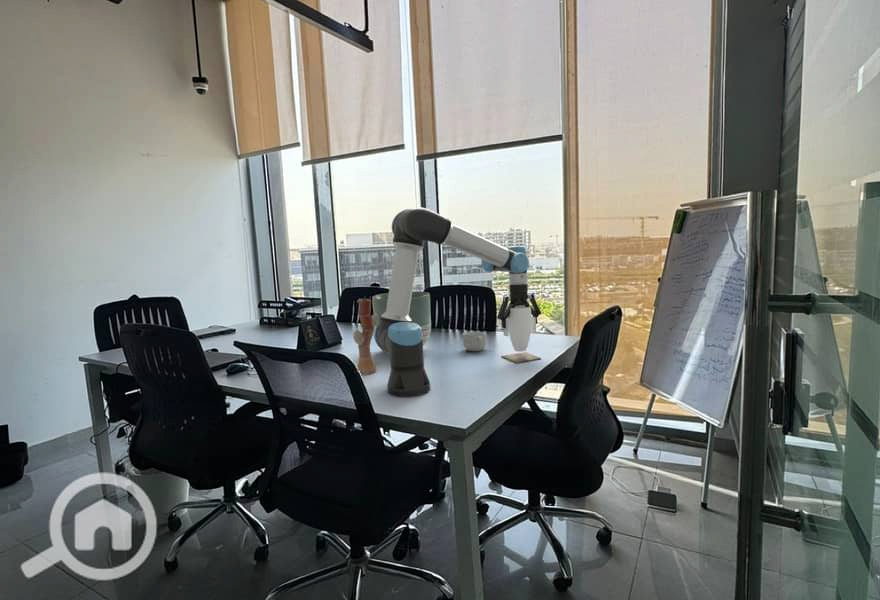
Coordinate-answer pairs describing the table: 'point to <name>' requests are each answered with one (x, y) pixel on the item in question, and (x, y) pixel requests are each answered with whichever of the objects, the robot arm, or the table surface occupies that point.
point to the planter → (417, 310)
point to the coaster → (520, 357)
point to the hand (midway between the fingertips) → (520, 333)
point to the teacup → (474, 341)
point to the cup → (520, 327)
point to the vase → (365, 337)
